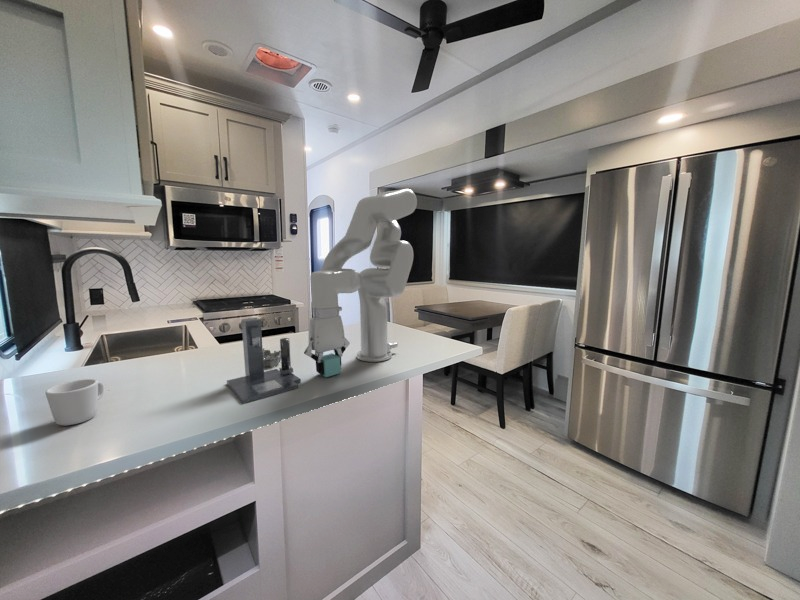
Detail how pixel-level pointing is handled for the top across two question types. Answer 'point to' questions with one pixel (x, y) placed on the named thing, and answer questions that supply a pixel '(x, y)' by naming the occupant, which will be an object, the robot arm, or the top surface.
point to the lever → (285, 356)
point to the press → (258, 369)
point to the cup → (74, 401)
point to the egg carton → (271, 358)
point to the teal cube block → (331, 365)
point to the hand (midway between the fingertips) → (329, 370)
